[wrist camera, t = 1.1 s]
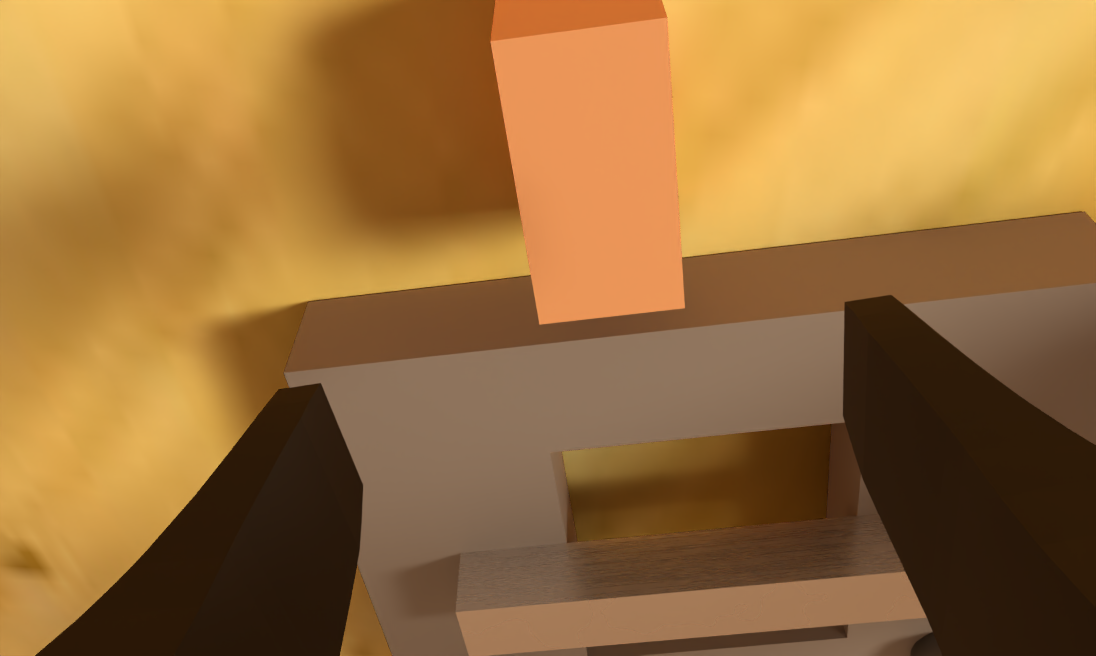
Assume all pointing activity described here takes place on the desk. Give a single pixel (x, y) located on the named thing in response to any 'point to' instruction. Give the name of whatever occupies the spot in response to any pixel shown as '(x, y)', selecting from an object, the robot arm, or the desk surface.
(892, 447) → the robot arm
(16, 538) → the desk surface
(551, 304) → the orange rectangular block
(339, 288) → the desk surface
